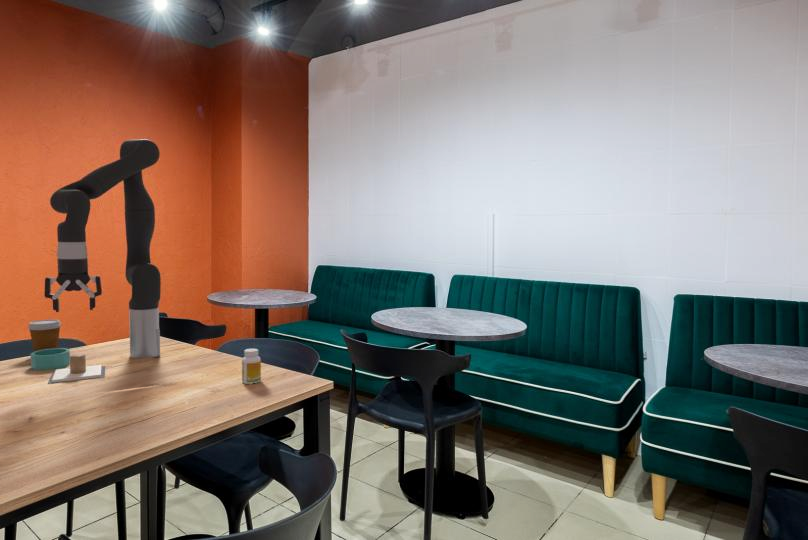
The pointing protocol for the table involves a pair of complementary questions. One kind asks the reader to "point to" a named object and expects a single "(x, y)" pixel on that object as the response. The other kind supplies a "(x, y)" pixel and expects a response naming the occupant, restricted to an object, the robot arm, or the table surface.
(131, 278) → the robot arm
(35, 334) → the disposable coffee cup
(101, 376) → the mat
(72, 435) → the table surface
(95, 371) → the lid
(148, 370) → the table surface
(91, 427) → the table surface
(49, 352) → the bowl
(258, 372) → the supplement bottle
